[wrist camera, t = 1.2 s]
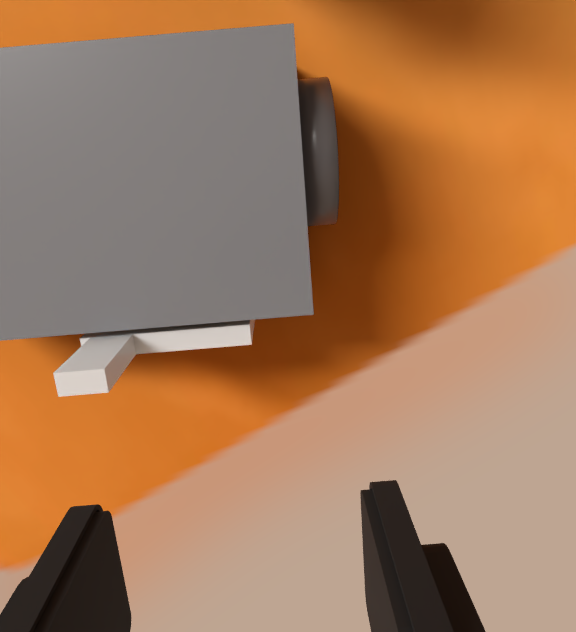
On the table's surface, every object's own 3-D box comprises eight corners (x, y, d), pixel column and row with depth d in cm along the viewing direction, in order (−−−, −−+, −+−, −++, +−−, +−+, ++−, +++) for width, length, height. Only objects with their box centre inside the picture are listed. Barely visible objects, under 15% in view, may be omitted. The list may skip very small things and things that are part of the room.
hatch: (255, 288, 32) (244, 356, 21) (257, 309, 33) (247, 386, 22) (121, 299, 32) (40, 373, 21) (125, 320, 33) (47, 403, 22)
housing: (317, 60, 30) (336, 14, 21) (330, 291, 34) (352, 342, 24) (-71, 92, 30) (-229, 61, 21) (-16, 320, 34) (-128, 381, 24)
